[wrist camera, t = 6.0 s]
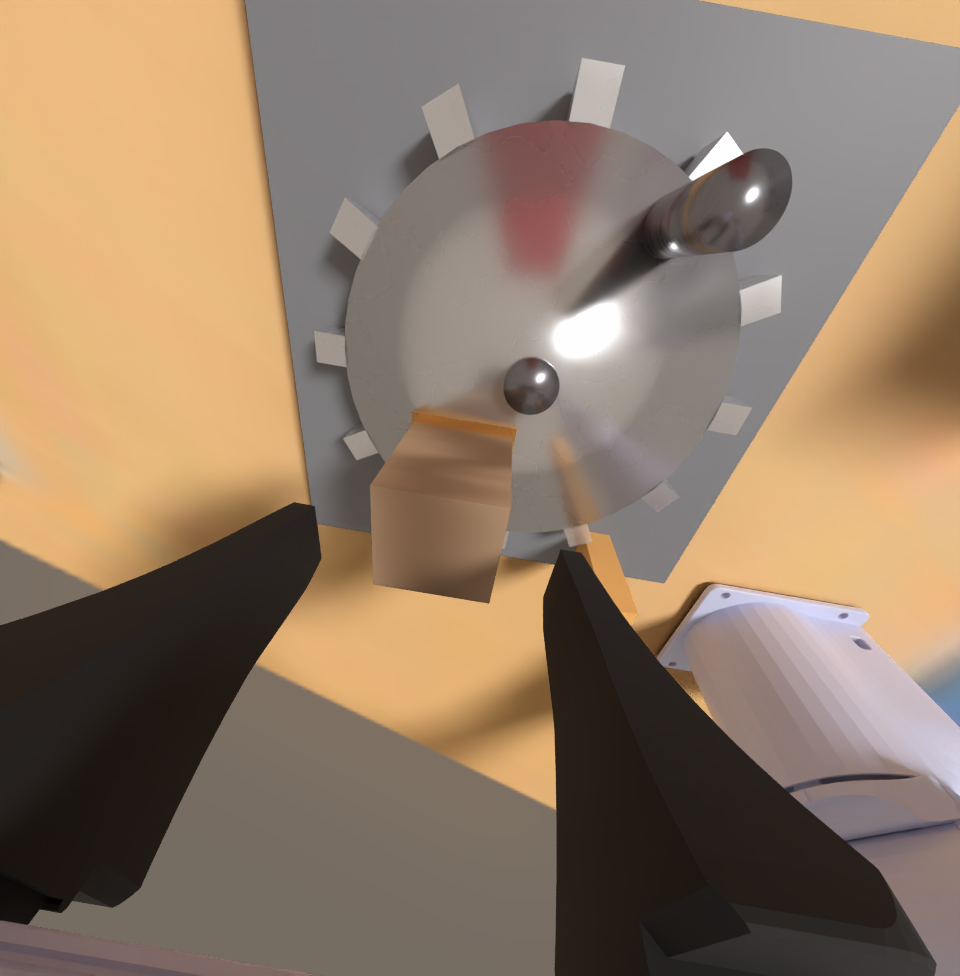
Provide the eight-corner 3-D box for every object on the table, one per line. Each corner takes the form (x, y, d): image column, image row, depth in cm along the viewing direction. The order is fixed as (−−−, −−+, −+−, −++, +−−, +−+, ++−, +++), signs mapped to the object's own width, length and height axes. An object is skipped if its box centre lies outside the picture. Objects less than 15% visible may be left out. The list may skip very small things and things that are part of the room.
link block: (512, 437, 14) (511, 508, 10) (495, 516, 16) (489, 603, 12) (414, 421, 14) (369, 485, 10) (410, 502, 16) (373, 584, 12)
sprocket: (872, 137, 10) (1170, 23, 5) (645, 555, 18) (688, 645, 14) (310, 36, 10) (137, -165, 5) (344, 503, 18) (288, 577, 14)
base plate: (950, 72, 10) (1409, -142, 5) (657, 570, 20) (705, 668, 15) (257, -54, 10) (-19, -406, 5) (322, 512, 20) (258, 592, 15)
